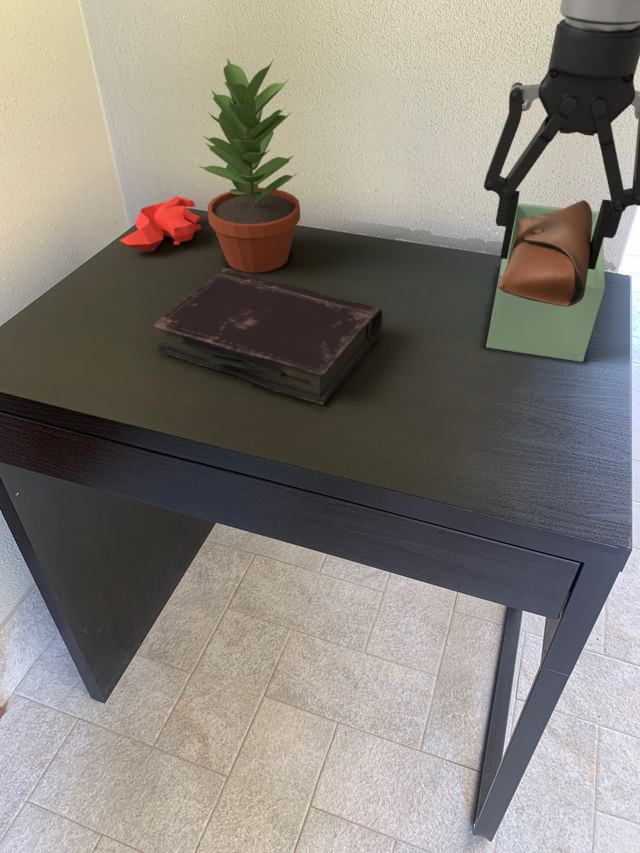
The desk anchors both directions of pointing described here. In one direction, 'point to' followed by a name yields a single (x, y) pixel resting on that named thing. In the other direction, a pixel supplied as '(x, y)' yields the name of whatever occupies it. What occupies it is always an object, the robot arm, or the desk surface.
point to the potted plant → (250, 178)
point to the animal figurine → (163, 224)
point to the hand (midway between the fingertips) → (547, 257)
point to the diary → (271, 333)
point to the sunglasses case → (551, 256)
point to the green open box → (546, 310)
